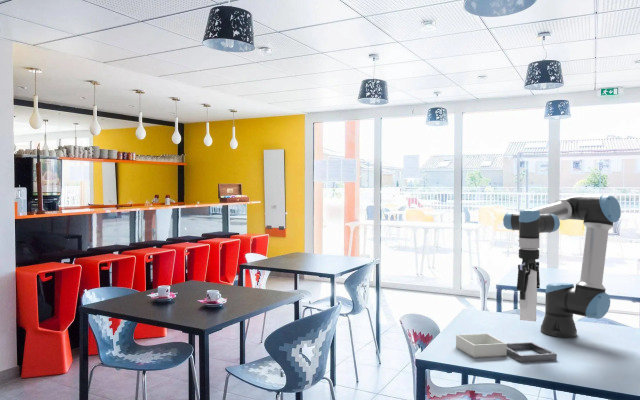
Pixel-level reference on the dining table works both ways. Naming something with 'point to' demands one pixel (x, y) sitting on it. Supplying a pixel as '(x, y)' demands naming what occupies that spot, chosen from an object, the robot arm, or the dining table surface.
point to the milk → (530, 298)
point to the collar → (543, 356)
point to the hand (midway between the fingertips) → (528, 305)
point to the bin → (481, 345)
